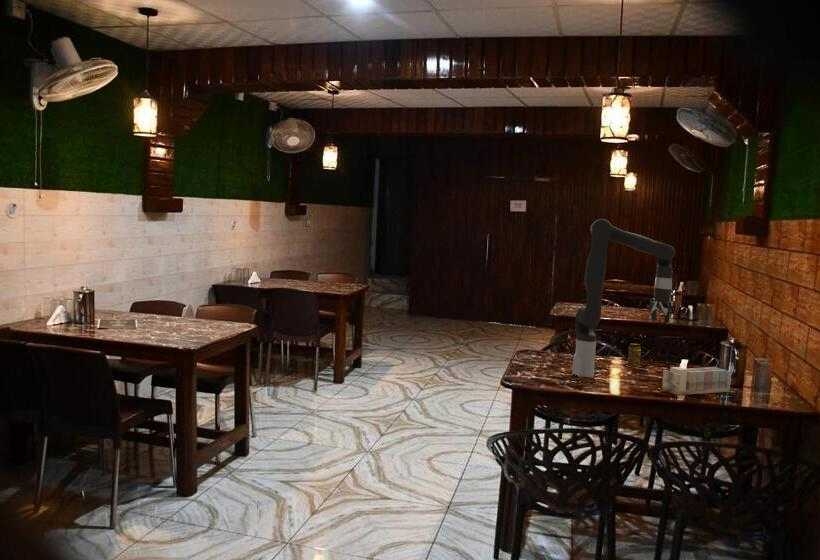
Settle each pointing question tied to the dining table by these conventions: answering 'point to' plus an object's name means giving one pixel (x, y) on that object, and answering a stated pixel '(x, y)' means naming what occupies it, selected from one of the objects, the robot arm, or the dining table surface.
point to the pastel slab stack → (698, 381)
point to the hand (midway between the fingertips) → (660, 321)
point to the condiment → (634, 355)
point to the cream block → (682, 376)
